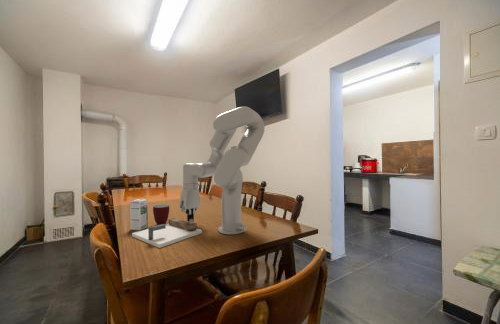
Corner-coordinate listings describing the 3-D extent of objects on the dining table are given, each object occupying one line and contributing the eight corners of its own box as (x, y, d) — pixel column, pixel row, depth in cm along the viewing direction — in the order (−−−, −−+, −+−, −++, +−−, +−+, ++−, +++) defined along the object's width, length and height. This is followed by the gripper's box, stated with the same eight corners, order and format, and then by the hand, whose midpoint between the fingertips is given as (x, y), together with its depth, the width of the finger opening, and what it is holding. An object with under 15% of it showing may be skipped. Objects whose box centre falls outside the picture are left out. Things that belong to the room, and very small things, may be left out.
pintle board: (201, 233, 105) (202, 229, 105) (159, 248, 87) (159, 244, 87) (173, 224, 118) (173, 222, 118) (131, 236, 100) (131, 233, 100)
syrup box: (140, 230, 108) (140, 201, 108) (129, 229, 110) (129, 200, 109) (147, 227, 114) (147, 199, 114) (137, 226, 115) (137, 198, 115)
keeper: (163, 235, 97) (163, 223, 97) (165, 236, 95) (165, 225, 95) (147, 239, 93) (147, 227, 93) (149, 240, 91) (149, 228, 91)
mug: (152, 222, 123) (152, 204, 122) (168, 220, 126) (168, 203, 126) (153, 227, 113) (153, 208, 113) (169, 225, 116) (169, 206, 116)
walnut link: (198, 228, 105) (198, 219, 105) (190, 231, 101) (190, 221, 101) (175, 222, 116) (175, 213, 116) (167, 224, 112) (167, 215, 112)
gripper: (196, 184, 124) (196, 217, 124) (173, 187, 111) (173, 223, 112) (206, 185, 119) (206, 219, 120) (183, 188, 107) (183, 226, 107)
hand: (190, 221), depth 116 cm, fingers closed
